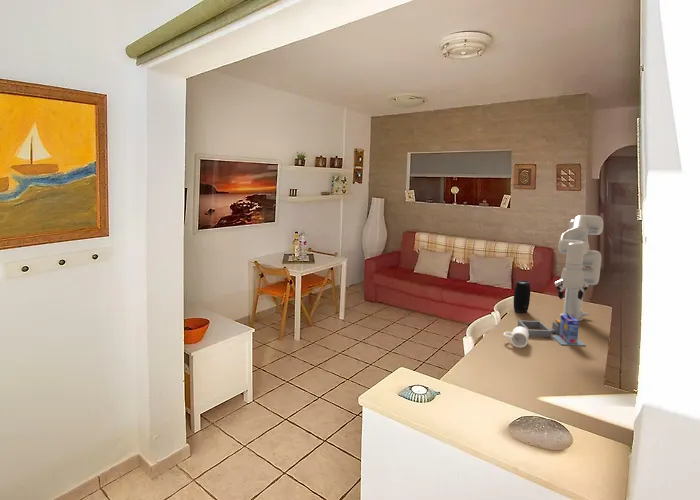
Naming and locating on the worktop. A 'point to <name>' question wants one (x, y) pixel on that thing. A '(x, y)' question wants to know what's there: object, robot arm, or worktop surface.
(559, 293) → the robot arm
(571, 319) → the ink cartridge box
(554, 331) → the dock
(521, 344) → the mug
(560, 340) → the mat
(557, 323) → the plunger
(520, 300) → the portable speaker
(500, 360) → the worktop surface
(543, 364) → the worktop surface
